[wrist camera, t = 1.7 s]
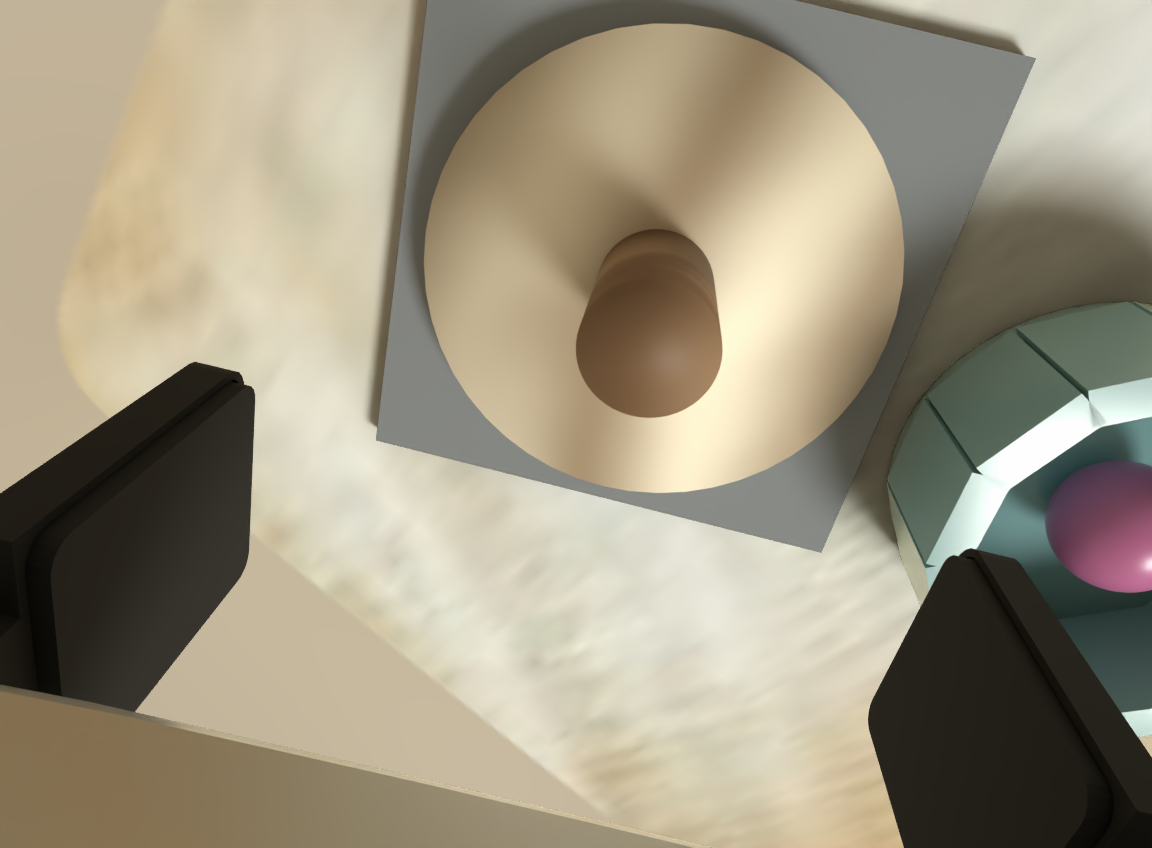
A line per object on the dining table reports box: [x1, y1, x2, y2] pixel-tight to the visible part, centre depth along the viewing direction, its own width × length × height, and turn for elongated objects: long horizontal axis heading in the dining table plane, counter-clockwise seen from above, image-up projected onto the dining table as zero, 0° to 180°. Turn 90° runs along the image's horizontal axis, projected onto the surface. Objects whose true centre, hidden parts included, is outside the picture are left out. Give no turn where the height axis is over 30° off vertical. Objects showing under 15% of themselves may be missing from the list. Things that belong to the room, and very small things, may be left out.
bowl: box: [887, 301, 1152, 737], centre depth 22 cm, size 11×11×5 cm
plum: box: [1045, 460, 1152, 593], centre depth 22 cm, size 4×4×4 cm
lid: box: [424, 23, 904, 493], centre depth 20 cm, size 13×13×6 cm
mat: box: [376, 0, 1036, 552], centre depth 23 cm, size 15×15×1 cm
